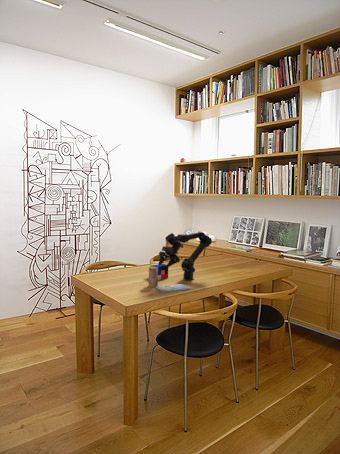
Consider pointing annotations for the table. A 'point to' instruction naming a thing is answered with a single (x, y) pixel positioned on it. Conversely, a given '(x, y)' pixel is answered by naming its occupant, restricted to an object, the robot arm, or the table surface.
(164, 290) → the blueprint board
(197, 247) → the robot arm
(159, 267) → the puzzle toy
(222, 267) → the table surface
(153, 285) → the pillar
